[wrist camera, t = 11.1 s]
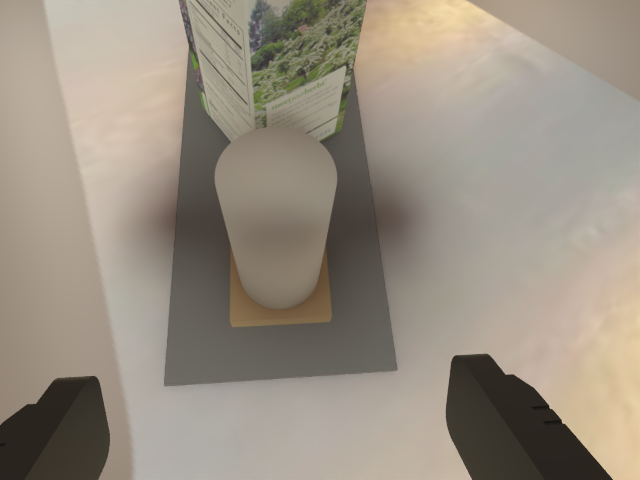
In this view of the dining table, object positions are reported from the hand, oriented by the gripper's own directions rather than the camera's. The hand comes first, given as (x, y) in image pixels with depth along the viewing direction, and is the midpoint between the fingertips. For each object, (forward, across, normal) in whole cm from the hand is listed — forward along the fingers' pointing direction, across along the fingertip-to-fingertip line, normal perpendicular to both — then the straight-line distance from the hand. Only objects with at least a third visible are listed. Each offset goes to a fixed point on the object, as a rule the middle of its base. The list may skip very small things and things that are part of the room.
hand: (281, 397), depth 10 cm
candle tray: (+15, 0, -2) cm, 15 cm away
